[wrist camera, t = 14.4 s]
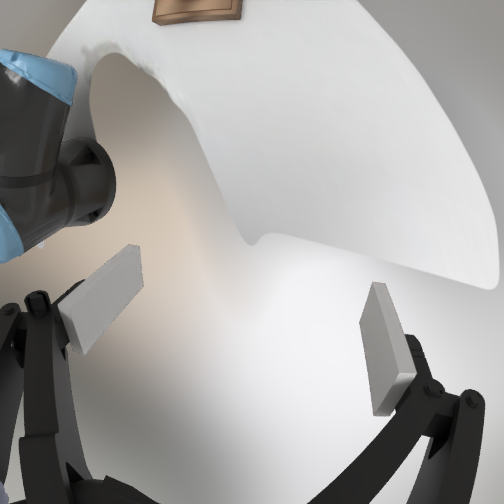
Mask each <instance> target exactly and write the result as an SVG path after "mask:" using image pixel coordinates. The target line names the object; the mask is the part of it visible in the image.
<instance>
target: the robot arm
mask: <svg viewBox="0 0 504 504" xmlns="http://www.w3.org/2000/svg"><path fill="white" fill-rule="evenodd" d="M76 82H77V72H76V70H75V68H74V67H72V66H71V65H68V64H65V63H62V62H59V61H55V60H52V59H48V58H44V57H40V56H36V55H32V54H27V53H23V52H18V51H13V50H8V49H1V50H0V263H6V262H8V261H10V260H11V259H13V258H15V257H17V256H21V255H22V254H23V253H25V252H26V251H28V250H29V249H31V248H32V247H34V246H35V245H37V244H38V243H40V242H41V241H43V240H44V239H46V238H48V237H49V236H51V235H52V234H54V233H56V232H57V231H59V230H60V229H62V228H64V227H72V226H84V225H89V224H92V223H94V222H95V221H97V220H99V219H101V218H102V217H103V216H105V215H106V214H107V212H108V211H109V210H110V208H111V206H112V204H113V201H114V198H115V193H116V176H115V171H114V167H113V164H112V161H111V159H110V157H109V155H108V154H107V152H106V151H105V150H104V149H103V147H102V146H101V145H99V144H98V143H97V142H95V141H94V140H91V139H88V138H76V139H71V140H68V141H66V142H64V143H62V144H61V142H62V138H63V134H64V129H65V125H66V122H67V118H68V114H69V110H70V107H71V106H72V104H73V102H72V98H73V94H74V90H75V86H76ZM142 288H143V277H142V266H141V257H140V246H136V245H130V244H129V245H127V246H126V247H125V248H124V249H122V250H121V251H120V252H119V253H117V254H116V255H115V256H114V257H112V258H111V259H110V260H109V261H107V262H106V263H105V264H104V265H103V266H101V267H100V268H99V269H98V270H97V271H95V272H94V273H93V274H92V275H91V276H90V277H88V278H87V279H84V280H81V281H79V282H77V283H75V284H74V285H73V286H72V287H71V288H70V289H69V290H67V291H66V292H65V293H64V294H63V295H62V296H60V297H59V298H58V299H57V300H56V301H55V302H54V303H53V304H51V303H50V299H49V296H48V293H47V292H46V291H41V290H38V291H34V292H32V293H30V294H28V295H27V296H26V297H25V299H24V302H25V305H26V308H27V310H28V312H21V309H20V307H19V305H18V304H17V303H8V304H6V305H4V306H3V307H2V308H1V309H0V504H7V503H8V501H9V497H8V495H7V494H6V493H5V490H4V487H3V486H4V483H5V479H6V476H7V471H8V465H9V459H10V452H11V445H12V439H13V433H14V428H15V424H16V419H17V414H18V410H19V405H20V401H21V397H22V393H23V389H24V426H25V436H24V437H20V439H19V455H20V464H21V472H22V479H23V486H24V491H25V497H26V499H25V500H21V501H18V502H14V503H10V504H159V503H157V502H155V501H154V500H152V499H150V498H149V497H147V496H146V495H144V494H143V493H141V492H139V491H138V490H137V489H135V488H134V487H132V486H130V485H127V484H125V483H122V482H120V481H118V480H116V479H114V478H111V477H109V476H107V475H106V476H105V478H104V480H97V479H93V478H92V476H91V474H90V472H89V470H88V468H87V466H86V462H85V458H84V454H83V450H82V445H81V441H80V436H79V432H78V427H77V421H76V416H75V410H74V404H73V398H72V391H71V383H70V374H69V366H68V365H69V364H68V353H67V349H66V345H67V344H68V343H69V342H70V344H71V347H72V350H73V351H75V352H77V353H79V354H82V355H85V354H86V353H87V352H88V351H89V349H90V348H91V347H92V346H93V345H94V343H95V342H96V341H97V340H98V339H99V337H100V336H101V335H102V334H103V333H104V331H105V330H106V329H107V328H108V327H109V326H110V324H111V323H112V322H113V321H114V320H115V319H116V317H117V316H118V315H119V314H120V313H121V312H122V310H123V309H124V308H125V307H126V306H127V305H128V304H129V302H130V301H131V300H132V299H133V298H134V296H135V295H136V294H137V293H138V292H139V291H140V290H141V289H142ZM359 324H360V329H361V335H362V340H363V346H364V352H365V358H366V365H367V371H368V377H369V385H370V392H371V400H372V408H373V416H390V415H391V413H392V412H393V411H394V409H395V410H396V414H395V415H394V416H393V417H392V419H391V420H390V421H389V422H388V423H387V425H386V426H385V427H384V428H383V429H382V431H381V432H380V433H379V434H378V435H377V436H376V438H375V439H374V440H373V441H372V442H371V443H370V444H369V445H368V446H367V447H366V448H365V450H364V451H363V452H362V453H361V454H360V455H359V456H358V457H357V458H356V459H355V460H354V461H353V462H352V463H351V464H350V465H349V466H348V467H347V468H346V469H345V470H344V471H343V472H342V473H341V474H340V475H339V476H338V477H337V478H336V479H335V480H334V481H332V483H330V484H329V485H328V486H327V487H326V488H325V489H324V490H323V491H321V492H320V493H319V494H318V495H317V496H316V497H314V498H313V499H312V500H311V501H310V502H309V503H307V504H369V503H370V502H371V501H372V499H373V498H374V497H375V496H376V495H377V494H378V493H379V491H380V490H381V489H382V488H383V487H384V485H385V484H386V483H387V482H388V481H389V479H390V478H391V477H392V476H393V474H394V473H395V471H397V469H398V468H399V467H400V465H401V464H402V463H403V461H404V460H405V459H406V457H407V456H408V454H409V453H410V452H411V450H412V449H413V447H414V446H415V444H416V443H417V441H418V440H419V438H420V437H421V435H424V436H428V437H430V440H429V443H428V446H427V450H426V453H425V456H424V459H423V462H422V465H421V468H420V471H419V473H418V476H417V479H416V481H415V484H414V486H413V489H412V491H411V494H410V496H409V499H408V501H407V503H406V504H469V502H470V498H471V494H472V490H473V485H474V481H475V477H476V472H477V467H478V462H479V456H480V449H481V442H482V434H483V426H484V415H485V400H484V398H483V397H482V395H481V394H480V393H479V392H477V391H475V390H472V389H468V390H465V391H464V392H463V393H462V394H461V395H460V396H457V395H453V394H449V393H447V392H445V388H444V387H443V385H442V384H441V383H440V382H438V381H437V380H435V379H433V378H432V375H431V372H430V369H429V366H428V363H427V360H426V358H425V355H424V352H423V349H422V347H421V344H420V342H419V341H418V339H417V338H416V337H415V336H414V335H408V334H404V332H403V329H402V326H401V323H400V321H399V318H398V315H397V312H396V310H395V307H394V304H393V302H392V299H391V297H390V294H389V292H388V289H387V287H386V284H385V283H378V282H372V285H371V288H370V291H369V295H368V298H367V301H366V304H365V307H364V310H363V313H362V316H361V319H360V322H359ZM11 344H12V347H11Z"/></svg>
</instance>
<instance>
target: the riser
mask: <svg viewBox="0 0 504 504" xmlns="http://www.w3.org/2000/svg"><path fill="white" fill-rule="evenodd" d="M241 9H242V0H155V4H154V10H153V16H152V22H154V23H156V24H158V25H168V24H176V23H185V22H197V21H212V20H240V18H241Z"/></svg>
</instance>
